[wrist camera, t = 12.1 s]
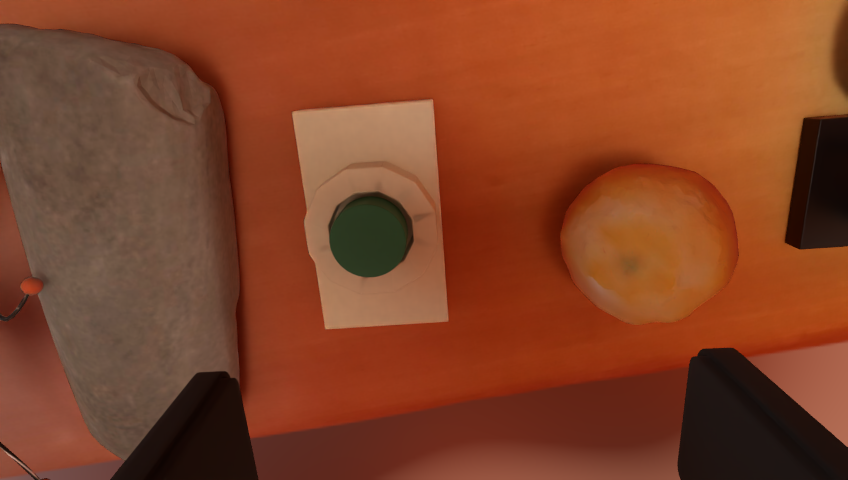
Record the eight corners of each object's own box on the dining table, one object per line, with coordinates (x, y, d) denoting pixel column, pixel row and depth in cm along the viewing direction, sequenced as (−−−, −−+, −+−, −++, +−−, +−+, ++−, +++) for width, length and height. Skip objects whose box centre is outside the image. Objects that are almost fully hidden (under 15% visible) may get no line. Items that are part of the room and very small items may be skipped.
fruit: (742, 276, 27) (739, 355, 21) (595, 273, 32) (558, 337, 25) (738, 131, 25) (733, 171, 19) (580, 149, 29) (534, 187, 23)
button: (411, 262, 25) (409, 275, 23) (340, 267, 25) (334, 280, 23) (404, 193, 24) (402, 201, 22) (331, 198, 24) (323, 207, 22)
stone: (226, 32, 25) (42, 29, 26) (136, 18, 18) (-109, 15, 19) (267, 423, 33) (125, 411, 33) (214, 513, 26) (38, 495, 27)
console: (447, 304, 30) (449, 337, 26) (332, 312, 30) (318, 346, 26) (433, 98, 26) (433, 101, 22) (302, 109, 26) (280, 113, 22)
